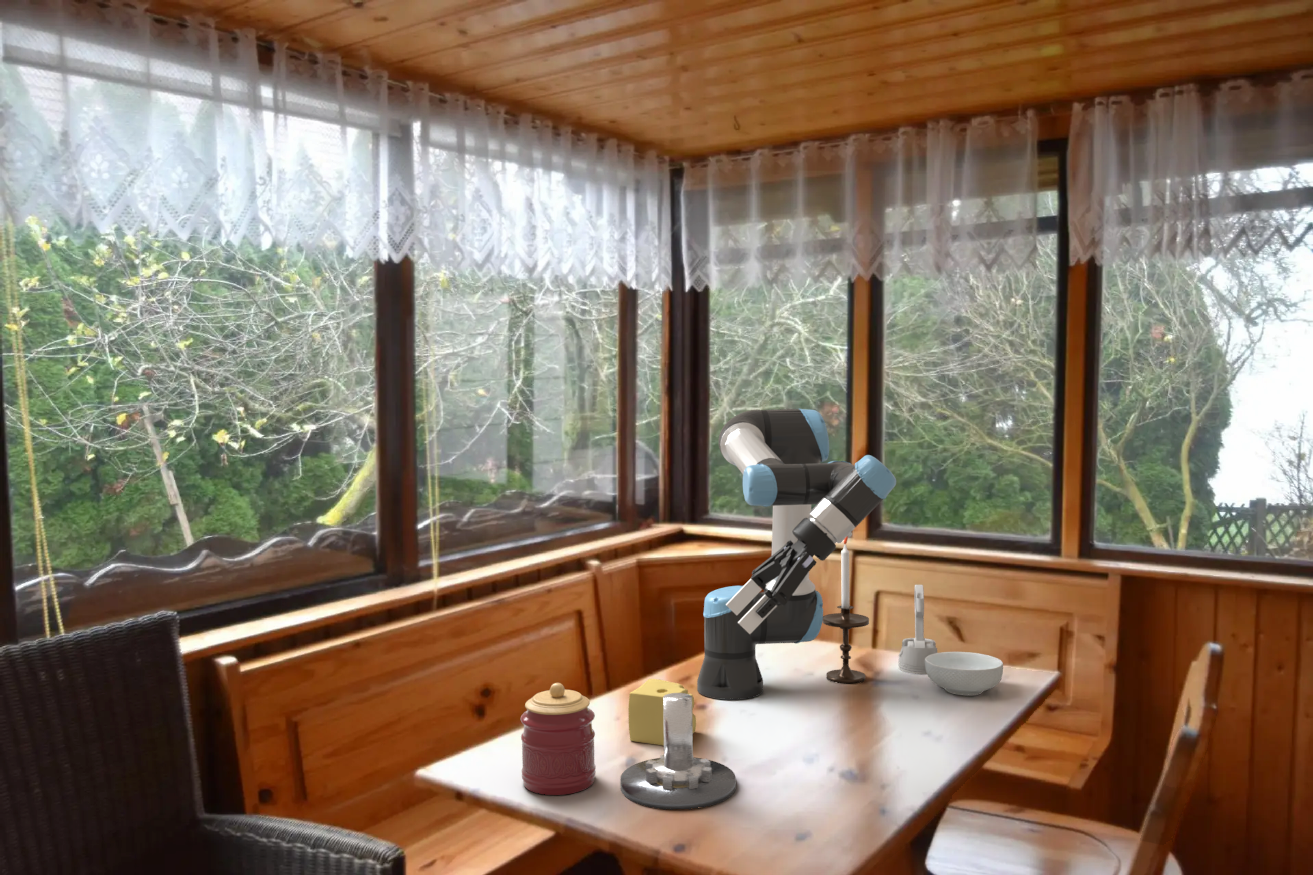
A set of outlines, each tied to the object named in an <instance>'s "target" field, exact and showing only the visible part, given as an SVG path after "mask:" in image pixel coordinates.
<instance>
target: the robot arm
mask: <svg viewBox="0 0 1313 875" xmlns="http://www.w3.org/2000/svg"><path fill="white" fill-rule="evenodd" d="M718 448H719V451H720V454H721V455H722V457H723V458H724V459H725V460H726V462H728V463H729V464H731V465H733V466H735V467H736V468H737V469H738V470H739V472H741V474H742V491H743V492H742V493H743V495H744V496H743V497H744V500H745V503H746V504H747V505H749V506H756V507H758V506H760V507H772V525H771V526H772V527H771V528H772V530H771V533H772V534H771V555H770V557H768V558H767V559H766V560H765V561H764V562H762V563H761V564H760V565H758V566H757V567H756V568H754V569H753V570H752V572H751V577H750V579H749V580H748V581H747V582H746V583H745V584H744V585H732V586H725V587H721V588H718V589H715V590H712V591H710V592H709V593H707V595H706V596H705V597H704V603H703V606H704V607H703V613H702V614H703V619H704V623H703V626H704V627H703V628H704V632H703V636H704V637H703V638H704V658H703V660H702V665H701V667H700V670H699V674H698V677H697V681H696V682H697V683H696V685H697V692H698V693H699V694H700V695H702V696H705V697H707V698H711V699H717V700H732V701H733V700H744V699H751V698H755V697H758V696H759V695H762V693H763V692H764V679H763V675H762V673H761V670H760V669H761V668H760V666H759V664H758V660H757V657H756V645H768V644H795V645H796V644H800V643H804V642H812V641H813V640H815V639H816V638H817V637H818V635H819V634H820V631H821V628H822V625H823V622H822V620H823V616H824V608H823V605H824V602H823V597H822V594H821V593H820V592H819V591H818V590H816V585H815V583H813V581H812V580H810V571H811V570H812V569H813V568H814V567H815V566H816V564H817V560H815V559H814V556H815V557H816V558H817V559H818V560H820V561H823V562H824V561H825V560H826V559H827V558H828V557H829V556H830V555H831V554H832V553H833V552H834V551H835V550H836V548H837V545H836V543H837V544H841V543H843V542H844V539H845V538H846V537H847V536H848V538H851V537H852V536H853V532H852V531H854V530H855V529H856V528H857V527H858V526H859V525H860V524H861V523H862V522H863V520H865V518H867V517H868V516H869V515H870V514H871V512H873V511H874V509H875V508H877V507H878V505H880V504H881V502H883V500H885V499H887V498H888V495H889V494H890V493H891V492H892V490H893V489H894V488H895V486H896V485H897V479H896V476H895V475H894V474H893V472H892V471H891V470H890V469H889V468H888V467H887V466H886V465H885V464H884V463H882V462H881V461H880V460H879V459H878V458H876V457H875V456H873V455H870V454H866V455H864V456H863V457H862V458H861V459H859V460H858V461H857V462H855V463H854V464H852V463H851V462H847V461H845V460H832V461H829V462H826V461H827V460H828V458H829V454H830V439H829V432H828V428H827V425H826V421H825V420H824V417H823V415H822V414H821V413H820V412H819V411H818V410H815V409H809V408H808V409H805V408H783V409H780V408H779V409H751V410H746V411H743V412H740V413H739V414H736V415H735V416H733V417H732V418H730V419H729V420H728V421H726V423H725V424H723V427H722V428H721V430H720V432H719V434H718ZM824 462H825V463H824ZM812 505H815V506H814V507H813V508H812ZM762 590H763V591H762Z"/></svg>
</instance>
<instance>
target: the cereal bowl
mask: <svg viewBox="0 0 1313 875" xmlns="http://www.w3.org/2000/svg"><path fill="white" fill-rule="evenodd" d="M925 669H926V673H927V674H926V675H927V676H928V678H929V680H930V681H931V682H932V683H933V684H935V685H936V686H938V687H941V689H942V688H943V689H945V691H947V692H948V693H950V694H953V695H957V696H977V695H980V694H982V693H983V692H984V691H989V690H990V689H992V688H994V687H996V686H997V685H999V683H1000V681H1001V680H1002V678H1003V674H1004V672H1003V671H1004V663H1003V661H1002V660H1001V659H1000V658H997V657H995V656H992V655H988V654H983V653H978V652H969V651H943V652H938V653H935V654H931V655H929V656H927V657H926V658H925Z"/></svg>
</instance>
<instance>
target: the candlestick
mask: <svg viewBox="0 0 1313 875" xmlns="http://www.w3.org/2000/svg"><path fill="white" fill-rule="evenodd" d="M848 538H849V537H848V536H847V537H846V538H845V539H844V540H843V547H842V548H843V549H842V550H841V552H840V555H841V556H840V559H841V560H840V561H841V563H840V565H841V566H840V567H841V568H840V569H841V572H840V573H841V574H840V575H841V576H840V577H841V578H840V580H841V583H840V584H841V587H840V588H841V592H840V593H841V594H840V596H841V605H838V606H836V609H837V608H838V609H840V612H838V613H828V614H825V615H823V620H822V624H823V625H826V626H829V627H833V628H839V629H841V630H842V644H840V645H839V649H840V652H842V655H840V659H842V666H841V668H839V669H832V670H830V671H827V672H826V680H827V681H829V680H830V681H829V682H831V683H832V682H833V683H835V682H837V684H841V685H842V684H845V685H854V684H859V683H860V682H861V683H863V682H865V681H866V674H865V673H864V672H862V671H860V670H855V669H851V667H850V666H849V664H850V661H849V660H850V659H852V656H851V655H850V652H851V650H852V649H853V647H852V645H851V644H849V639H850V638H849V636H850V635H849V630H851V629H852V628H854V629H855V628H863V627H866V626H869V624H870V618H869V617H868V616H866V615H864V614H860V613H859V614H858V613H851V610H852V609H854V608H855V607H854V606H852V605H850V550H848V547H847V543H848ZM864 680H865V681H864Z"/></svg>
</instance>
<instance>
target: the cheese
mask: <svg viewBox="0 0 1313 875" xmlns="http://www.w3.org/2000/svg"><path fill="white" fill-rule="evenodd" d="M671 693H685V694H689V695H691V696H692V734H694V733H695V732H696V728H697V718H696V717H697V716H696V715H695V714H694V708H695V698H694V695H693V694H692V693H689V690H688V689H687V688H685V687H684V686H683V684H680V683H677V682H672V681H669V680H668V681H667V680H664V679H658V678H649V679H647V680H646V681H645V682H644V683H643V684H641V685H640V686H639V687H637V688H636V689H634V690H632V691H631V692H629V697H628V707H627V708H628V732H629V739H630V742H635V743H642V744H649V745H656V746H657V745H658V746H663V747H664V720H663V696H665V695H667V694H671Z"/></svg>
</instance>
